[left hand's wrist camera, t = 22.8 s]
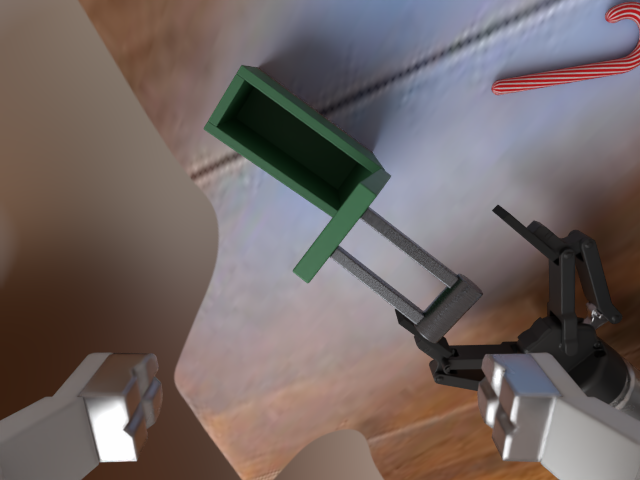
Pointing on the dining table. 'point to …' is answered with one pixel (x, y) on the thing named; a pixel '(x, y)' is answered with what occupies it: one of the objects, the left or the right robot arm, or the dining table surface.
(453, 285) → the lid
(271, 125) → the chest
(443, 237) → the dining table surface
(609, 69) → the candy cane
